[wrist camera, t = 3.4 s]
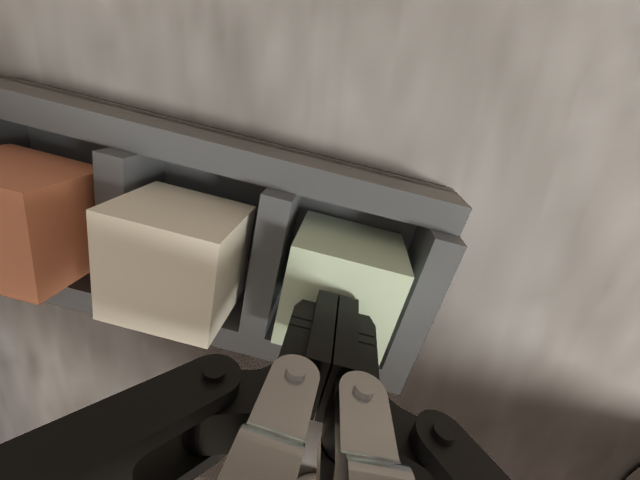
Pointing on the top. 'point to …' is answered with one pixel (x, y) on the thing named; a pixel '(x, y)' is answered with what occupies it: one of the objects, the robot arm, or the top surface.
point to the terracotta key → (42, 222)
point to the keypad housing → (250, 188)
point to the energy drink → (307, 476)
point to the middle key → (168, 261)
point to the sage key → (347, 272)
